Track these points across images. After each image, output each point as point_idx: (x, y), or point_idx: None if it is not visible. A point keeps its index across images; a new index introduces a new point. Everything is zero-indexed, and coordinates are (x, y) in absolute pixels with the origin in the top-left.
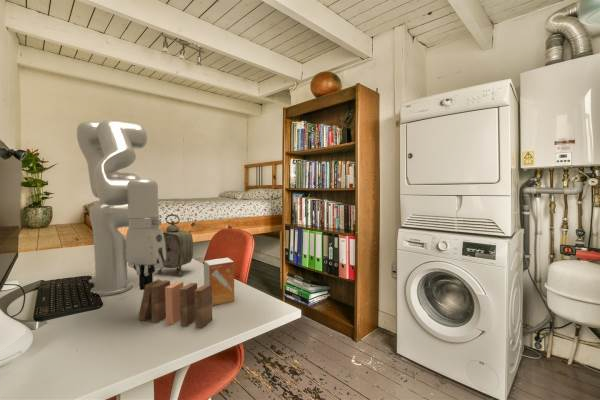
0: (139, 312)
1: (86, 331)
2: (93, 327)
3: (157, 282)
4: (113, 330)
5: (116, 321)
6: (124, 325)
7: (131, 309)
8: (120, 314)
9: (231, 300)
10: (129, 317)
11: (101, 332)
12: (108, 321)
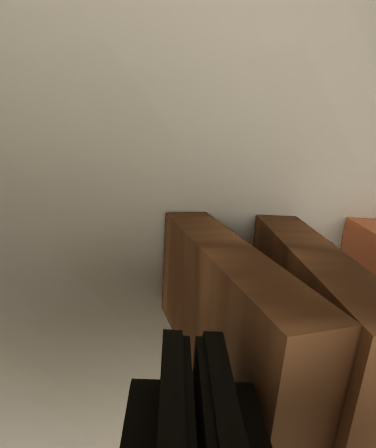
0: (172, 327)
1: (14, 422)
2: (8, 392)
3: (320, 393)
4: (124, 396)
5: (60, 330)
6: (136, 354)
7: (9, 193)
8: (6, 262)
9: None
10: (89, 283)
11: (87, 416)
12: (20, 337)
